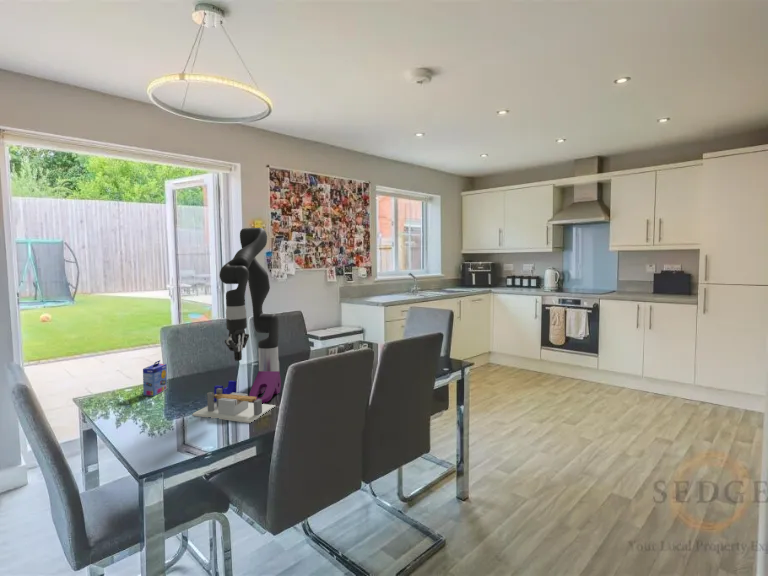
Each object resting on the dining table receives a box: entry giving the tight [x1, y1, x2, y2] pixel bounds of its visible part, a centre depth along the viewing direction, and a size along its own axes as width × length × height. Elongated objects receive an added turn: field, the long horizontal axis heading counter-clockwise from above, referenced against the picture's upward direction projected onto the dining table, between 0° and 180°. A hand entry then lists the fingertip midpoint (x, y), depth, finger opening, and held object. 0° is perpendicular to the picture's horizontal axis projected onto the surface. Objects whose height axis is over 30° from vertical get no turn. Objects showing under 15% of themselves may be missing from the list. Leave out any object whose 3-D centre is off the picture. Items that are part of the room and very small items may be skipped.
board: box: [192, 388, 276, 424], centre depth 167 cm, size 17×26×8 cm, turn 73°
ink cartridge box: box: [142, 360, 168, 397], centre depth 190 cm, size 10×6×14 cm, turn 175°
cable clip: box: [213, 380, 237, 402], centre depth 182 cm, size 12×4×6 cm, turn 168°
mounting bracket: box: [248, 370, 282, 404], centre depth 185 cm, size 9×8×18 cm
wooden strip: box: [214, 393, 256, 403], centre depth 165 cm, size 19×3×1 cm, turn 73°
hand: (238, 360), depth 167 cm, fingers closed
